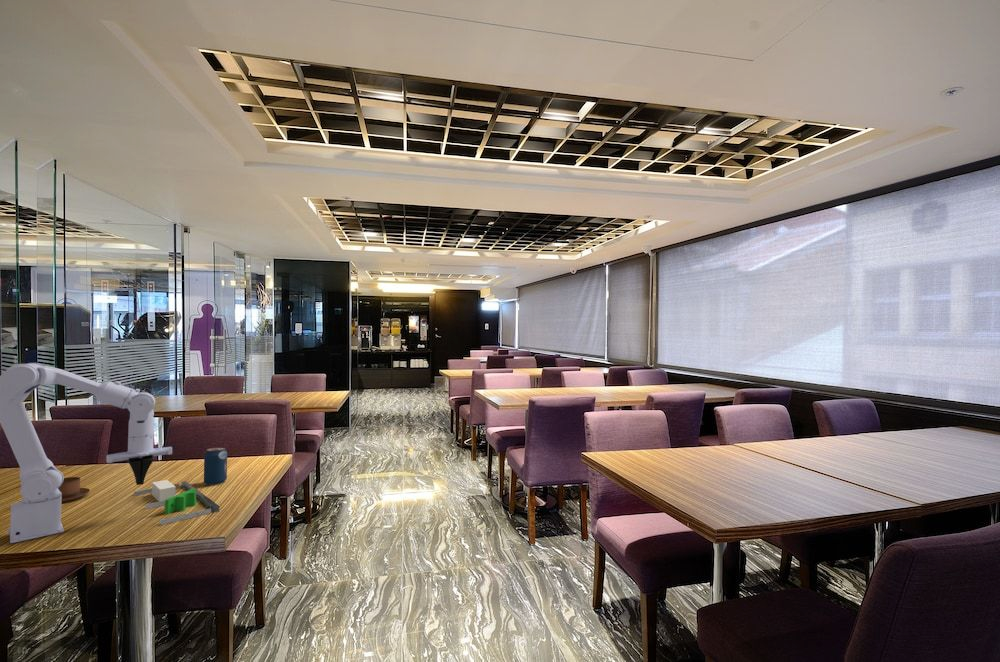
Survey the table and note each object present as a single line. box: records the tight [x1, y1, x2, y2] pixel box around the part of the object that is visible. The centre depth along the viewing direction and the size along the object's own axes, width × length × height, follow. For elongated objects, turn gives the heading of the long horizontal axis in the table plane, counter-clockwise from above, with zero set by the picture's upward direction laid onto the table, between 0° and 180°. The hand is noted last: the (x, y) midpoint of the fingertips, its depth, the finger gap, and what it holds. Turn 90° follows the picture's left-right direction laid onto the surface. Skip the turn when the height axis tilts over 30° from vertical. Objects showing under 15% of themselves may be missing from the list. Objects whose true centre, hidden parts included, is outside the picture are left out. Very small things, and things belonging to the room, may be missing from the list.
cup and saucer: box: [58, 476, 91, 503], centre depth 144 cm, size 12×12×6 cm
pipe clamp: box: [164, 488, 197, 515], centre depth 136 cm, size 10×4×4 cm, turn 175°
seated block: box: [151, 479, 177, 502], centre depth 146 cm, size 4×11×4 cm, turn 47°
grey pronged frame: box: [133, 480, 220, 526], centre depth 140 cm, size 14×37×2 cm, turn 47°
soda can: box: [203, 446, 228, 486], centre depth 161 cm, size 7×7×12 cm
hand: (139, 483), depth 129 cm, fingers closed
